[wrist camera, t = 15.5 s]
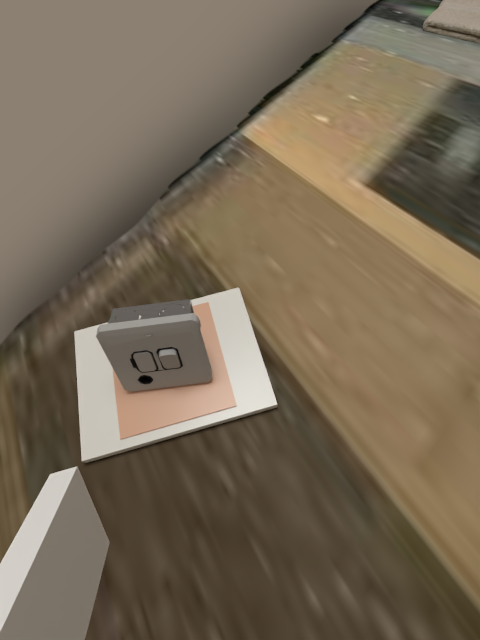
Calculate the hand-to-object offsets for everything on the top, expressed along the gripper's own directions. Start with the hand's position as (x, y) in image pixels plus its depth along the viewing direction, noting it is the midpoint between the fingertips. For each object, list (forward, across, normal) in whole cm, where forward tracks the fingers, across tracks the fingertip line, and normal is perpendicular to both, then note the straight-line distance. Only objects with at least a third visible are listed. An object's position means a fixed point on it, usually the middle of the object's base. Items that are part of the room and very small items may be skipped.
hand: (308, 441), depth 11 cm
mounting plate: (+31, -8, -8) cm, 33 cm away
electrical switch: (+30, -8, -7) cm, 32 cm away
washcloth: (+69, +60, +28) cm, 96 cm away
